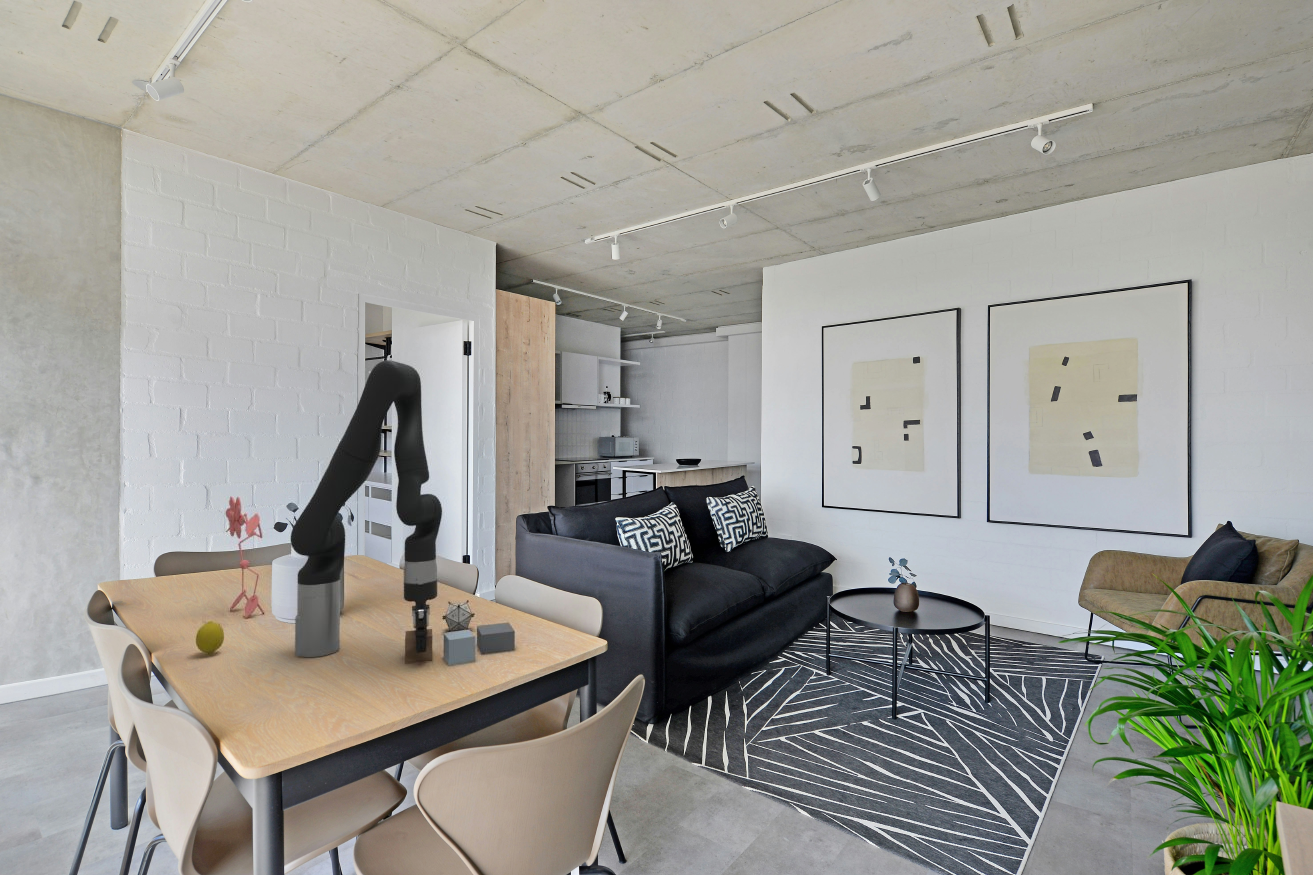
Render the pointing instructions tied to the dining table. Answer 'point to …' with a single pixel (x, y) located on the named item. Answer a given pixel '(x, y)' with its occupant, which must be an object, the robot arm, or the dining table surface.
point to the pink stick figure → (235, 526)
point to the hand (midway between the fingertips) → (421, 646)
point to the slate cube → (459, 647)
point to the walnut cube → (410, 648)
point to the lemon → (209, 637)
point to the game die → (458, 616)
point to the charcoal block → (495, 638)
